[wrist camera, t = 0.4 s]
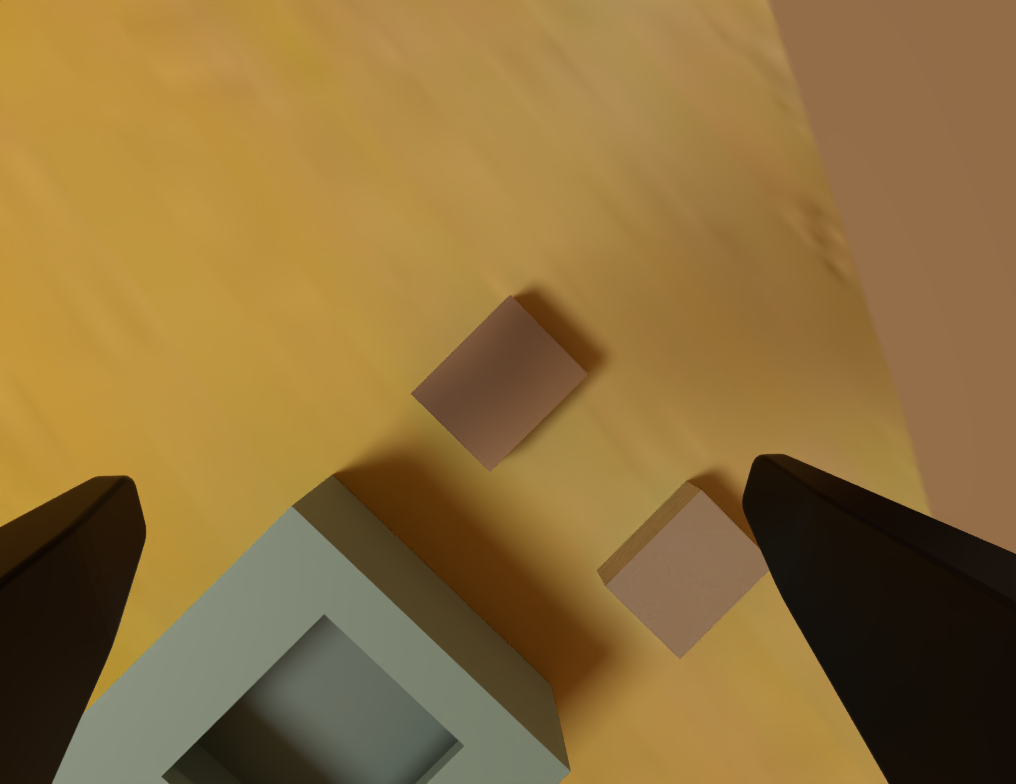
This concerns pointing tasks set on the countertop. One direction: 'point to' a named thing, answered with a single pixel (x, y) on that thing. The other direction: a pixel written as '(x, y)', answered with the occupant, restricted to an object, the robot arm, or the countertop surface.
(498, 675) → the grey holed block
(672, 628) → the steel tile
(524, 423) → the walnut tile
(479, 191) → the countertop surface
